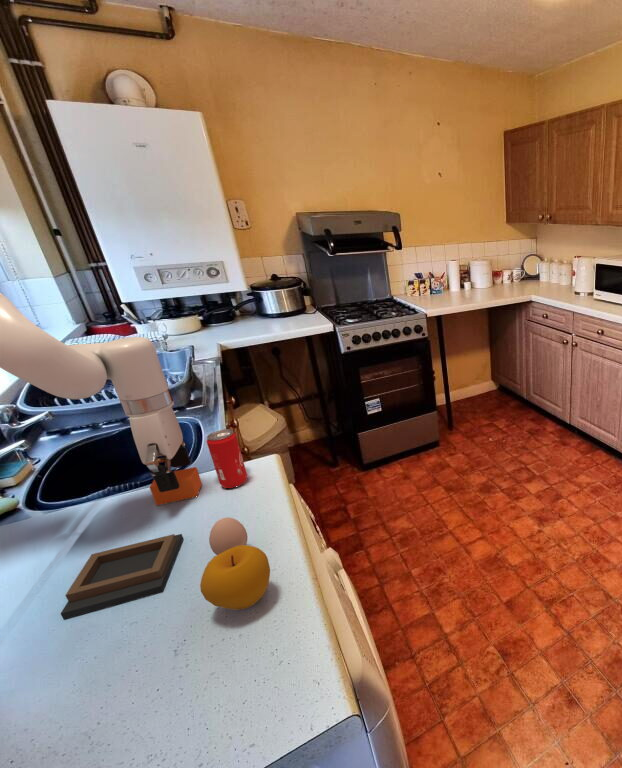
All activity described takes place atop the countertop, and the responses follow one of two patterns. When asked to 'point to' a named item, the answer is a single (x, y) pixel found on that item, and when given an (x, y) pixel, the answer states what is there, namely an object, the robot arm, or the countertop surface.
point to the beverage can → (227, 458)
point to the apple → (236, 578)
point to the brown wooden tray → (122, 575)
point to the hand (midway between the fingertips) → (176, 477)
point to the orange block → (187, 488)
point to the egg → (227, 535)
